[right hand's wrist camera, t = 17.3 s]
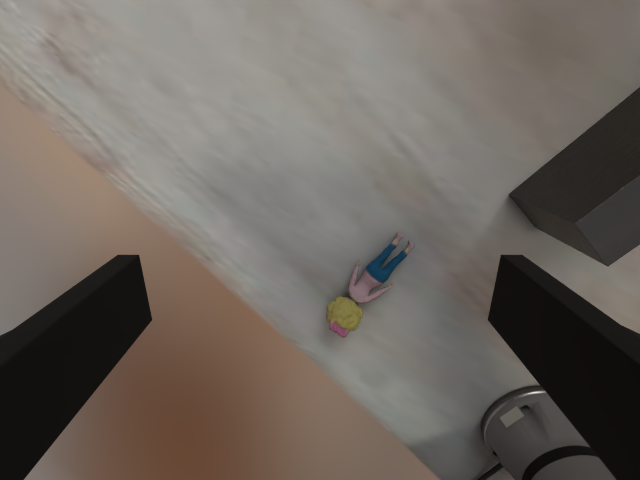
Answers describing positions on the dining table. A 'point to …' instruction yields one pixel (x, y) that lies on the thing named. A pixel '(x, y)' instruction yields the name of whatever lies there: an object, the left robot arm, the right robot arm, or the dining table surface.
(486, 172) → the dining table surface
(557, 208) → the box
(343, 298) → the figurine
